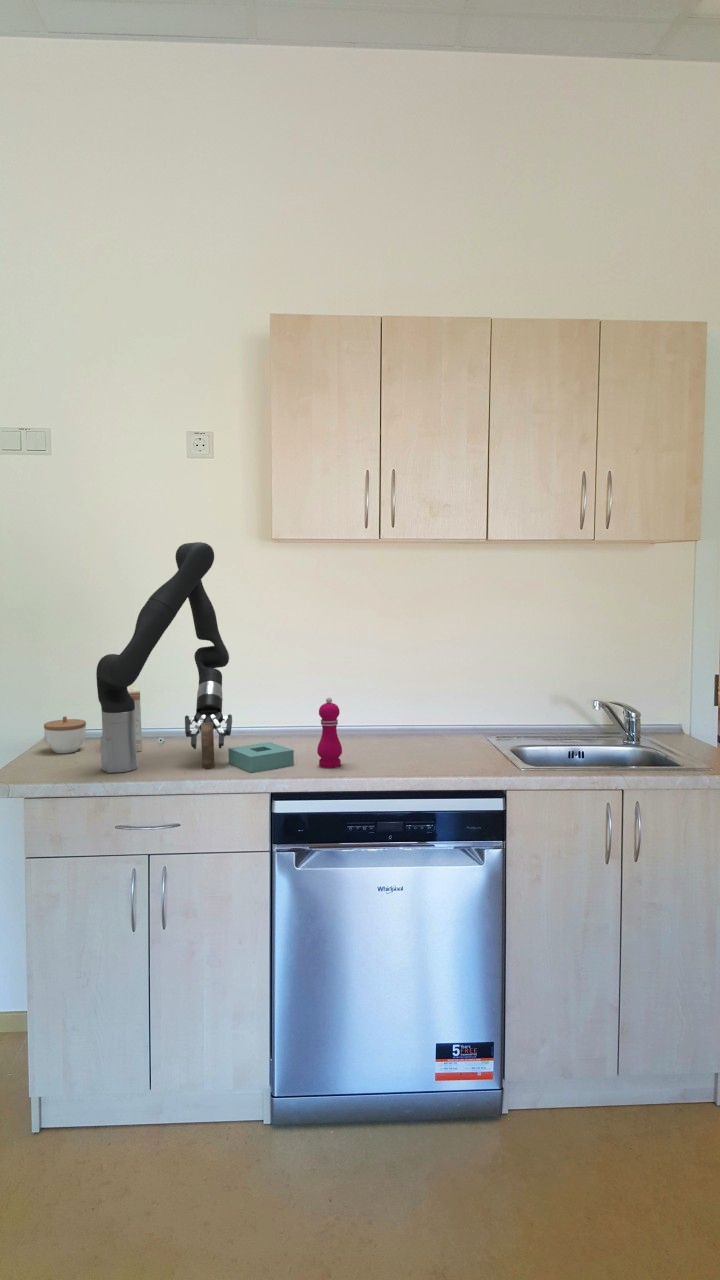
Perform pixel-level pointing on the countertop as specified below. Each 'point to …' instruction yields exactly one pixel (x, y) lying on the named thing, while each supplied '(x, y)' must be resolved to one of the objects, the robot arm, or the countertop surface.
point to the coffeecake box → (137, 714)
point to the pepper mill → (329, 736)
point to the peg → (207, 745)
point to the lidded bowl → (65, 734)
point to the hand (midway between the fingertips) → (207, 746)
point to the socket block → (261, 756)
